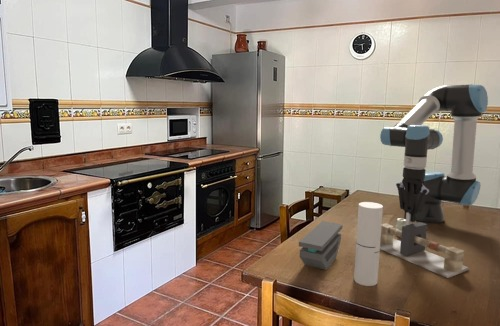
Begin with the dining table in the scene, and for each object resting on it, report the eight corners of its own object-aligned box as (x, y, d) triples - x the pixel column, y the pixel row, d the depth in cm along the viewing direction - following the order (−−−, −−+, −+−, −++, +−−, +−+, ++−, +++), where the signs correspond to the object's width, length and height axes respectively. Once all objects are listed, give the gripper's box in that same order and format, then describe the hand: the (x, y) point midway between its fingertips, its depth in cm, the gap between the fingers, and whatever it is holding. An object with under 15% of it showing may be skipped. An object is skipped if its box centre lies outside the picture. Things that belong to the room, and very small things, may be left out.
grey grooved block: (320, 278, 120) (321, 246, 118) (297, 272, 123) (298, 241, 122) (340, 251, 141) (342, 224, 140) (321, 247, 145) (322, 220, 143)
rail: (370, 245, 148) (372, 226, 147) (390, 239, 154) (392, 221, 153) (447, 278, 121) (450, 255, 120) (468, 270, 127) (470, 248, 126)
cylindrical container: (350, 275, 122) (355, 202, 118) (371, 275, 122) (377, 201, 118) (358, 286, 115) (364, 208, 111) (381, 285, 115) (387, 208, 111)
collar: (399, 253, 137) (402, 226, 136) (417, 247, 143) (420, 221, 141) (406, 256, 135) (409, 228, 133) (424, 250, 140) (427, 224, 138)
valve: (392, 235, 160) (422, 241, 153) (394, 220, 159) (423, 226, 152) (397, 231, 165) (426, 237, 158) (398, 216, 164) (428, 222, 157)
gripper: (392, 165, 139) (388, 225, 143) (424, 171, 128) (417, 236, 132) (405, 164, 143) (400, 222, 147) (437, 169, 132) (431, 233, 135)
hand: (408, 229), depth 139 cm, fingers closed
